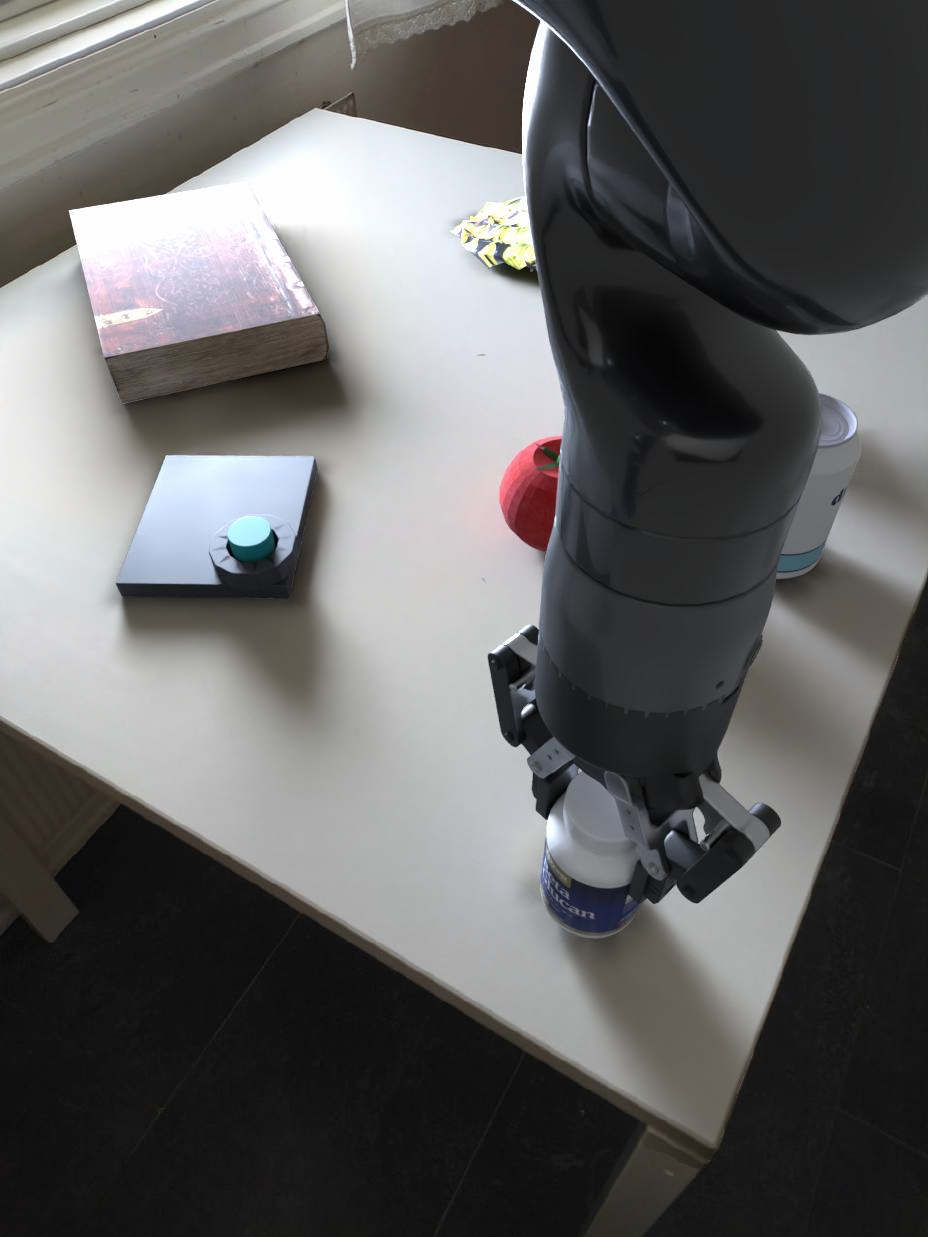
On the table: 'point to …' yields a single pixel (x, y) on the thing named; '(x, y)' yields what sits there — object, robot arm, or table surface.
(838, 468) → the beverage can
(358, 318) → the table surface
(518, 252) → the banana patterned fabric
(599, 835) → the pill bottle
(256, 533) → the button
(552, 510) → the tomato
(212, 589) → the scale
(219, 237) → the hardback book
